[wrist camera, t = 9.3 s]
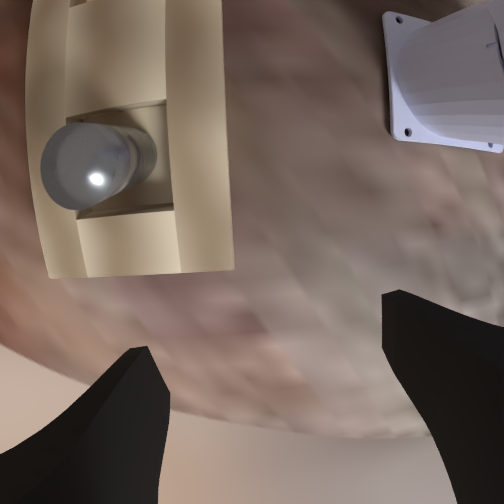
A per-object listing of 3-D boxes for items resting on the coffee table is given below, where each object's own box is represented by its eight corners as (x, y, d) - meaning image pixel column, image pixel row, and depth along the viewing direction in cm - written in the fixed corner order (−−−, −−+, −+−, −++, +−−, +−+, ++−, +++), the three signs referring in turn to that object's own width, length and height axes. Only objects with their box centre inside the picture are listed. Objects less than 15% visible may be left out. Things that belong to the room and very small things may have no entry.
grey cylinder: (156, 124, 15) (111, 116, 9) (158, 183, 16) (117, 207, 10) (101, 131, 14) (38, 130, 9) (104, 187, 15) (45, 213, 10)
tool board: (220, -90, 11) (219, -116, 8) (233, 248, 18) (234, 270, 15) (70, -58, 10) (52, -77, 7) (72, 259, 18) (49, 278, 15)
